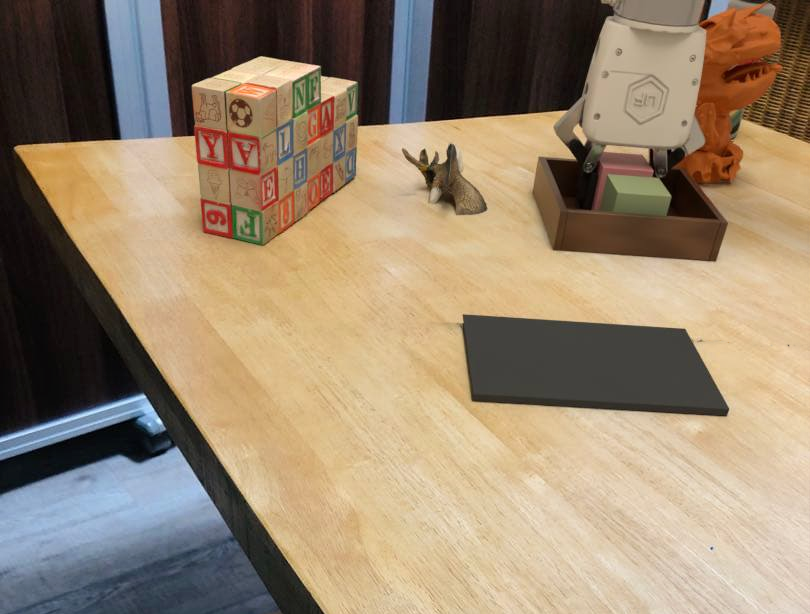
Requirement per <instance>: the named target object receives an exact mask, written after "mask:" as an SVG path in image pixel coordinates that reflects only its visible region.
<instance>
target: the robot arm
mask: <svg viewBox="0 0 810 614" xmlns="http://www.w3.org/2000/svg"><path fill="white" fill-rule="evenodd" d="M705 1H706V0H600V3H601V4H606V5H607V4H608V6H609V7H610V6H611V7H612V11H613V12H614V13H613V15H612V16H611V15H609V16H606V18H605V21H604V23H603V25H602V28H601V30H600V33H599V36H598V40H597V42H596V45H595V48H594V50H593V51H594V52H593V54H592V57H591V61H590V65H589V68H588V72H587V75H586V78H585V83H584V86H583V91H582V94H581V97H580V98H579V99H578V100H577V101H576V102H575V103H574V104H573V105H572V106H571V107H570V108H569V109H568V110H567V111H566V112H565V113H564V114H563V115H562V116H561V117H560V118H559V119H558V120H557V121H556V122H555V123H554V125H553V132H554V134H555V135H556V137H557V138H558V139H559V140H560V141H561V142H562V143H563V144H564V145H565V146H566V148H567V149H568V150H569V151H570V152H571V154H572V156H573V157H574V159H576V160H577V161H578V163H579V164H580V165H581V169H580V174H579V179H578V184H577V188H576V194H575V200H576V202H579V206H580V208H581V210H591V209H592V204H593V200H594V195H595V190H596V186H597V181H598V173H597V171H596V168H597V163H598V161H599V159H600V157H601V155H602V153H603V152H605V149H606V148H607V146H612V147H626V148H636V149H637V148H638V149H648V153H647V154H648V163H649V165H650V166H651V168H652V169H653V171H654V172H653V176H652V178H659V179H660V180H661V178H663V177H665V176H666V174H667V172H668V171H669V170H670V169H671V168H673V167H674V166H675V165H677V164H678V163H679V162H681V161H682V160H683V159H684V157H685V156H687V155H690V154H691V153H693V152H694V151H696V150H697V149H699V148H700V147H702V146H703V145H704V144H705V141H706V140H705V137H704V135H703V133H702V130H701V128H700V126H699V124H698V121H697V119H696V117H695V115H694V112H695V107H696V102H697V97H698V92H699V86H700V81H701V75H702V68H703V62H704V54H705V46H706V30H705V29H703V28H701V27H700V26H698V25H699V24H700V21H701V16H702V13H703V9H704V5H705ZM576 126H579V127H580V128H581V129H582V130H581V131H582V133H583V135H584V137H585V138H586V141H585V143H584V144H583V142H582V141H581V139H580V138H579V136H577V134H576V133H575V132H574V129H575V127H576Z"/></svg>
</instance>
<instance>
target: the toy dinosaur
mask: <svg viewBox="0 0 810 614" xmlns="http://www.w3.org/2000/svg"><path fill="white" fill-rule="evenodd" d="M767 3H768V2H765V3H763V4H761V5H758V6H756V7H755V6H753V7H746V8H744V9H743V10H741V11H738V9H735V8H732V9H727V8H726V9H725V10H723V11H721V12H719V13H717V14H714V15H712V16H709V18H707V19H706V20H703V21H702V22H699V25H698V26H700V27H701V28H703V29H705V30H706V46H705V54H704V62H703V68H702V75H701V81H700V86H699V92H698V97H697V102H696V107H695V112H694V115H695V117H696V119H697V121H698V124H699V126H700V128H701V130H702V133H703V135H704V137H705V140H706V141H705V144H704V145H703V146H702V147H700V148H699V149H697V150H696V151H694V152H693V153H691V154H690V155H687V156H685V157H684V159H683V160H682V161H681V162H679V163H678V164H677V165H675V166H674V167H684V168H685V169H686V170H687V171H688V173H689V174H690V175H691V176H692V178H693V179H694V180H695V181H696V183H699V184H700V183H701V184H714V183H718V182H720V181H721V180H729V181H728V182H729V183H730V184H732V183H733V181H734V179H735V178H736V176H737V173H738V172H739V171H740V170H741V165H740V163H741V162H742V160H743V157H744V150H743V149H741V146H739V145H738V144H735V143H734V142H735V140H732V139H730V138H729V137H730V132H731V131H732V123H731V120H730V114H729V113H730V112H732V111H734V110H741V109H743V108H745V109H746V107H749V106H750V105H752V104H754V103H756V101H758V100H759V99H760V98H762V97H764V96H765V95H767V93H768V90H769V89H770V87H771V86H772V85H773V84H774V82H775V80H776V77H777V73H779V72H780V73H781V72H782V71H783V70H784V69H783V65H781V64H777V63H768V62H767V61H763V60H764V59H765V58H767V59H769V58H770V57H771V56H772V55H773V54H777V53H778V52H779V51H780V49H781V46H782V44H781V43H782V32H781V30H780V27H779V26H778V24H777V23H776V22H775V21H774V20H773V19H771V18H770V16H766V15H762V14H756V13H753V12H756V11H758V10H759V9H761V8H762V7H764V6H765V5H766V4H767ZM758 58H759V61H760V62H754V60H755V59H758ZM750 59H752V62H751V63H747V64H743V63H744V62H746V60H750ZM737 64H743V65H737ZM735 65H737V66H735ZM733 66H735V67H734V68H732V69H730V68H731V67H733Z"/></svg>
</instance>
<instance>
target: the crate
mask: <svg viewBox="0 0 810 614" xmlns="http://www.w3.org/2000/svg"><path fill="white" fill-rule="evenodd" d="M580 169H581V165H580V164H579V163H578V161H577V160H576V158H566V157H563V158H562V157H553V156H552V157H550V156H540V155H539V156H538V157H537V162H536V170H535V174H534V181H533V187H532V196H533V198H534V201H535V204H536V207H537V209H538V213H539V215H540V218H541V220H542V223H543V227H544V229H545V232H546V235H547V237H548V240H549V243H550V247H551V249H552V251H557V252H569V253H584V254H598V255H599V254H601V255H613V256H625V257H626V256H629V257H641V258H642V257H645V258H654V259H655V258H656V259H670V260H683V261H684V260H686V261H700V262H713V263H716V262H717V260H718V256H719V253H720V250H721V247H722V244H723V241H724V238H725V235H726V231H727V228H728V225H729V222H728V221H727V219H726V217H724V215H723V214H722V213H721V212H720V210H719V209H718V208H717V206H716V205H715V204H714V203H713V201H712V200H711V199H710V198H709V197H708V195H707V194H706V193H705V191H704V190H703V189H702V187H700V185H699V184H698V182H696V181H695V180H694V179H693V178H692V176H691V175H690V174H689V173H688V171H687V170H686V169H685V168H684V167H673V168H671V169H670V170H669V171H668V172H667V174H666V176H665V177H663V178H661V182H662V183H663V185H664V186H665V188H666V189H667V190H668V192H669V193H670V195H671V196H672V197H671V201H670V204H669V208H668V212H667V215H666V216H661V215H648V214H634V213H620V212H606V211H593V210H581V208H580V206H579V202H576V200H575V194H576V188H577V184H578V179H579V174H580Z"/></svg>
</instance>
